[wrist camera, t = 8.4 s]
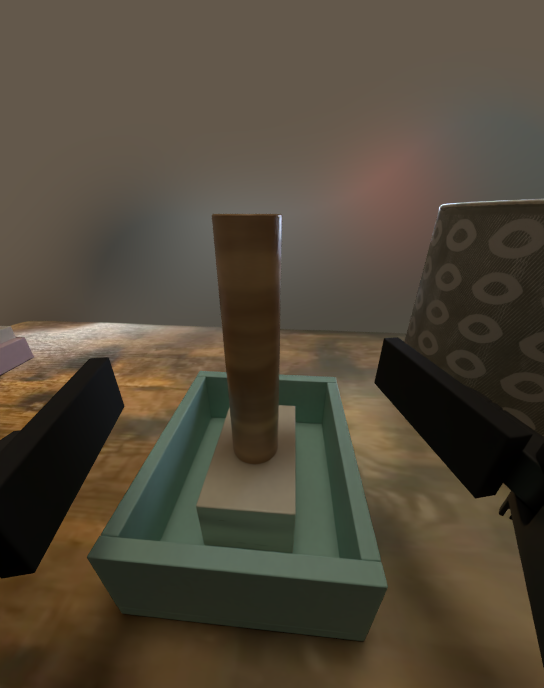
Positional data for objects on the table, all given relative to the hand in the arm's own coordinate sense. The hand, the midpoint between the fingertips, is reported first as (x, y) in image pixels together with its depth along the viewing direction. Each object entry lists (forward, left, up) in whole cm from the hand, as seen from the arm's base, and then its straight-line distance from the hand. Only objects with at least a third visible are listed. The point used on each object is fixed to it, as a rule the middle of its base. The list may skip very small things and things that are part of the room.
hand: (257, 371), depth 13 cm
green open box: (+1, +1, -10) cm, 11 cm away
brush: (+1, +1, -10) cm, 10 cm away
